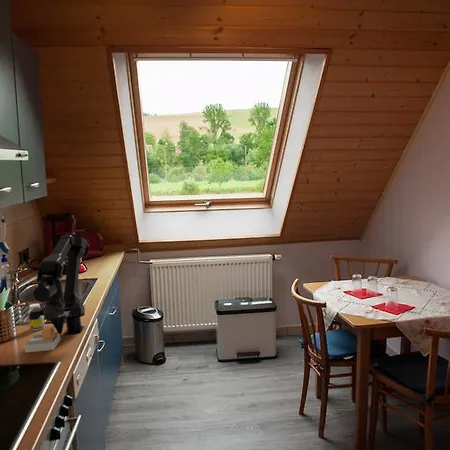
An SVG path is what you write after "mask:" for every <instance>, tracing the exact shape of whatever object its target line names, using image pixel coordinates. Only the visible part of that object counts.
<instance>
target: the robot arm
mask: <svg viewBox="0 0 450 450" xmlns="http://www.w3.org/2000/svg"><path fill="white" fill-rule="evenodd" d="M58 240H59V241H58V242H57V244H56V246H55V247H54V249H53V251H52V252H51V254H50V255H48V256H46V257H44V258H43V259H42V261H40V263H39V266H38V269H37V270H38V271H37V277H36V282H38V283H37V286H36V287H35V288H34V289H33V293H32V295H33V298H34V299H35V300H36V301H37V302H39V303H45V305H44V306H42V307H40V308H34V309H33V310H32V311H31V312H30V313H29V316H28V321H29V320H36V319H38V318H39V317H40V316H42V315H43V318H44V321H49V322H50V323H52V325H53V326H54V329H55V330H56V332H58V334H60V335H62V333H63V328H64V325H66V326H65V328H66V330H65V331H64V335H69V334H70V335H71V334H80V333H82V332H83V329H84V328H85V326H84V325H82V320H81V319H82V317H84V316H85V312H86V311H85V310H86V307H85V304H83V303H81V298H80V296H79V295H78V286H79V285H78V284H79V276H80V275H79V274H80V264H81V263H80V262H81V259H82V258H83V256H84V255H85V252H86V249H87V241H86V239H84V238H83V237H77V236H74V235H72V234H71V235H69V234H68V235H62V236H60V237H59V239H58ZM66 257H67V262H66V263H67V265H66V275H65V285H64V290H63V281H62V278H63V271H64V268H65V265H64V260H65V259H66Z"/></svg>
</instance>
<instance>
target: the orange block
mask: <svg viewBox="0 0 450 450" xmlns="http://www.w3.org/2000/svg"><path fill="white" fill-rule="evenodd" d="M41 330H42V331H41V333H42V335H43V339H52V340H53V338H54V337H55V332H56V331H55V327H54V325H53V326H44V328H42V329H41Z"/></svg>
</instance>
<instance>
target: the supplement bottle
mask: <svg viewBox="0 0 450 450" xmlns="http://www.w3.org/2000/svg"><path fill="white" fill-rule="evenodd" d="M40 306H41V305H40V303H32V304H29V307H28V308H29V309H28V311H27V315H28V317H29V313H30V312H31V311H32V310H33V309H34V308H41V307H40ZM28 322H29V329H30V330H31V331H39V330H43V329H44V328H45V327H46V325H45V318H44V315H42V316H40V317H39V318H38V319H36V320H29V319H28Z"/></svg>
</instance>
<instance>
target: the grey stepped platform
mask: <svg viewBox="0 0 450 450" xmlns="http://www.w3.org/2000/svg"><path fill="white" fill-rule="evenodd" d="M54 332H55V337H54V338H53V340H52V339H43V335H42V332H39V333H32V336H31V338H30V339H29V340H26V342H25V345H24V352H25V353H35V352H43V351H46V352H47V351H53V350H55V348H56V347H57V345H58V344H59V343H60V342H61V340H62V339H61V334H58V332H57V331H54Z"/></svg>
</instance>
